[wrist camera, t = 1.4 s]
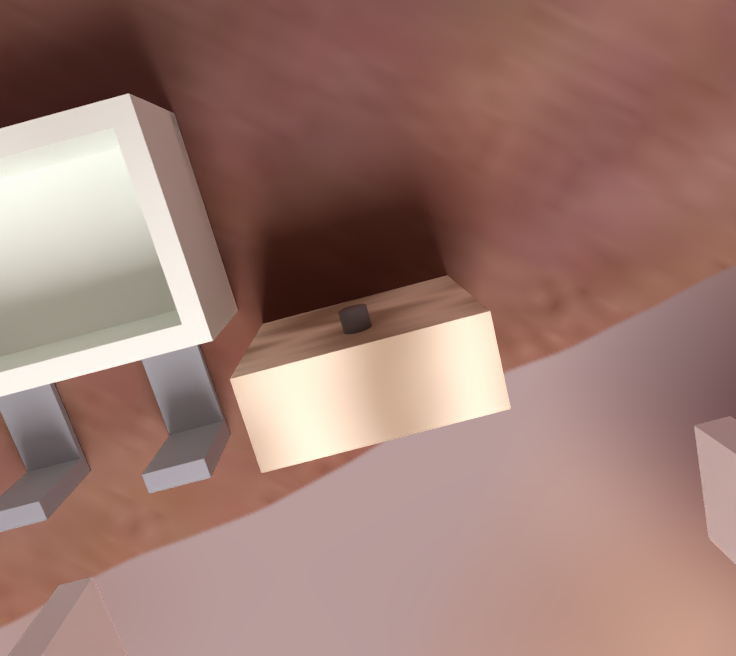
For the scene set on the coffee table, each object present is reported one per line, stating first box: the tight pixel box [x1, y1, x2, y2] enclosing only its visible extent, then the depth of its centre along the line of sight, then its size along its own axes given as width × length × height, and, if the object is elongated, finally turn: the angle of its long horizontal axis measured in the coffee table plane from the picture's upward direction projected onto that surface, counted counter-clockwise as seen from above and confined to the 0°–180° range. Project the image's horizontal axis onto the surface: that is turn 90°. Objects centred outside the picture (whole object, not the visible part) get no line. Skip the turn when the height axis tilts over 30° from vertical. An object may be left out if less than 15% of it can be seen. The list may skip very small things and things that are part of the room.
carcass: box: [0, 93, 238, 532], centre depth 27 cm, size 16×16×6 cm
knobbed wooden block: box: [230, 275, 511, 473], centre depth 26 cm, size 10×5×9 cm, turn 104°
